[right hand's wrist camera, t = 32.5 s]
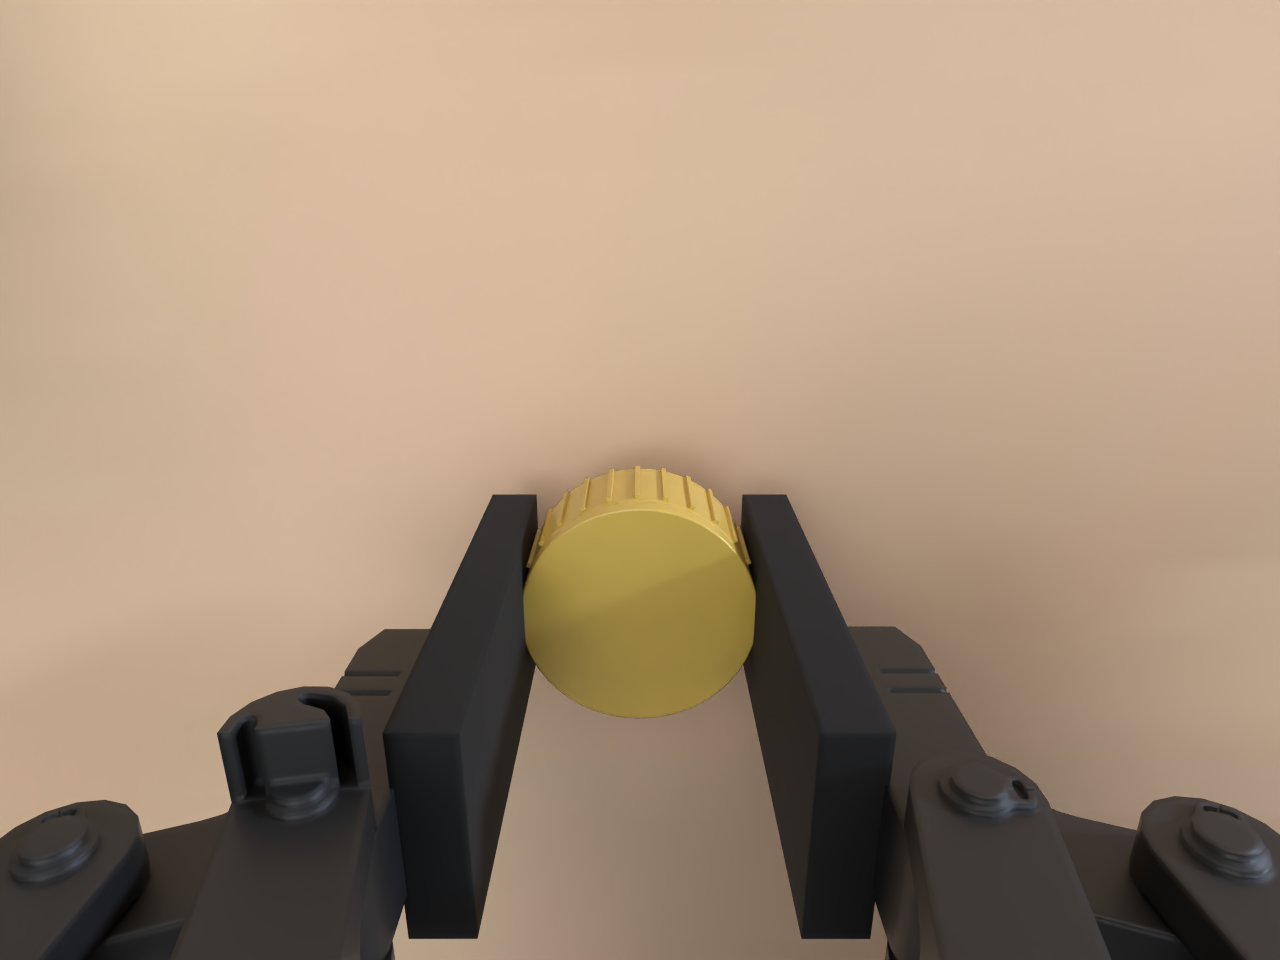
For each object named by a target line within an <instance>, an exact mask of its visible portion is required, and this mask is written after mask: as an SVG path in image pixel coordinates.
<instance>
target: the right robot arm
mask: <svg viewBox="0 0 1280 960" xmlns="http://www.w3.org/2000/svg"><path fill="white" fill-rule="evenodd" d="M537 529H538V519H537V497H536V495H493V496H492V498H491V500H490V502H489V504H488V506H487V509H486V511H485V513H484V515H483V517H482V519H481V522H480V524H479V526H478V528H477V530H476V532H475V534H474V537H473V539H472V541H471V543H470V545H469V547H468V550H467V552H466V554H465V556H464V558H463V560H462V562H461V565H460V567H459V569H458V571H457V573H456V575H455V578H454V580H453V582H452V584H451V586H450V588H449V590H448V593H447V595H446V597H445V599H444V601H443V603H442V606H441V608H440V610H439V612H438V614H437V616H436V618H435V621H434V623H433V625H432V627H431V629H384V630H383V631H382V632H380V633H379V634H378V635H376V636H375V637H374V638H372V639H371V640H370V641H368V642H367V643H366V644H364V645H363V646H362V647H360V648H359V649H358V650H357V652H356V654H355V655H354V657H353V659H352V660H351V662H350V664H349V665H348V667H347V669H346V670H345V675H344V676H342V677H341V679H340V680H339V682H338V684H337V685H336V687H335V689H334V688H331V687H299V688H294V689H289V690H284V691H279V692H275V693H273V694H270V695H268V696H266V697H263V698H261V699H258V700H256V701H253V702H251V703H249V704H248V705H247V706H245V707H244V708H242V709H241V710H239V711H238V712H236V713H235V714H233V715H232V716H230V717H229V719H228V720H227V721H226V723H225V724H224V725H223V726H222V728H221V729H220V730H219V731H218V733H217V736H218V740H219V745H220V750H221V755H222V759H223V764H224V769H225V773H226V778H227V783H228V787H229V792H230V797H231V802H232V804H231V806H230V809H229V811H228V812H227V813H225V814H222V815H219V816H216V817H212V818H209V819H206V820H202V821H198V822H194V823H190V824H185V825H181V826H176V827H172V828H168V829H163V830H159V831H154V832H150V833H146V834H143V833H142V830H141V826H140V822H139V818H138V816H137V815H136V814H135V813H134V812H133V811H132V810H131V809H130V808H129V807H128V806H127V805H126V804H121V803H117V802H112V801H107V800H99V801H88V802H77V803H74V804H71V805H67V806H63V807H61V808H57V809H54V810H51V811H48V812H45V813H43V814H41V815H39V816H37V817H35V818H33V819H31V820H29V821H27V822H25V823H23V824H21V825H19V826H17V827H15V828H14V829H12V830H11V831H10V832H8V833H7V834H6V835H4V836H3V837H2V838H0V960H395V956H394V949H393V941H392V940H393V937H394V934H395V931H396V928H397V925H398V921H399V918H400V915H401V912H402V909H403V906H404V905H405V913H406V920H407V928H408V936H409V939H477V938H478V934H479V929H480V924H481V919H482V915H483V910H484V905H485V901H486V896H487V891H488V887H489V882H490V877H491V873H492V868H493V863H494V858H495V854H496V849H497V844H498V840H499V835H500V830H501V826H502V821H503V816H504V811H505V807H506V802H507V797H508V793H509V788H510V783H511V779H512V774H513V769H514V764H515V760H516V755H517V750H518V746H519V741H520V736H521V732H522V727H523V722H524V717H525V713H526V708H527V703H528V699H529V694H530V689H531V685H532V680H533V675H534V670H535V666H536V664H535V662H534V660H533V659H532V657H531V655H530V653H529V650H528V648H527V646H526V639H525V622H524V604H523V589H524V585H525V582H526V578H527V575H528V571H529V568H527V567H526V565H527V562H528V559H529V555H530V552H531V548H532V545H533V542H534V538H535V535H536V532H537ZM741 529H742V533H743V536H744V540H745V543H746V546H747V550H748V553H749V557H750V560H751V564H749V568H750V572H751V575H752V579H753V583H754V586H755V590H756V604H755V622H754V639H753V646H752V648H751V650H750V652H749V655H748V657H747V659H746V660H745V662H744V664H743V665H744V670H745V675H746V680H747V684H748V689H749V694H750V698H751V703H752V708H753V712H754V717H755V722H756V727H757V731H758V736H759V741H760V745H761V750H762V755H763V760H764V764H765V769H766V774H767V778H768V783H769V788H770V792H771V797H772V802H773V807H774V811H775V816H776V821H777V825H778V830H779V835H780V839H781V844H782V849H783V854H784V858H785V863H786V868H787V872H788V877H789V882H790V887H791V891H792V896H793V901H794V905H795V910H796V915H797V919H798V924H799V929H800V934H801V938H802V939H870V936H871V928H872V921H873V913H874V905H875V902H876V905H877V908H878V911H879V914H880V917H881V920H882V924H883V927H884V930H885V933H886V936H887V939H888V941H887V949H886V956H885V960H1280V835H1279V834H1278V833H1277V832H1275V831H1274V830H1273V829H1271V828H1270V827H1269V826H1267V825H1266V824H1265V823H1263V822H1261V821H1259V820H1257V819H1255V818H1253V817H1251V816H1249V815H1247V814H1245V813H1243V812H1241V811H1239V810H1237V809H1235V808H1232V807H1228V806H1225V805H1222V804H1218V803H1215V802H1212V801H1208V800H1205V799H1199V798H1188V797H1177V796H1174V797H1169V798H1165V799H1160V800H1155V801H1153V802H1152V803H1151V804H1150V805H1149V806H1148V807H1147V808H1146V809H1145V810H1144V811H1143V812H1142V813H1141V817H1140V821H1139V825H1138V829H1137V831H1136V830H1132V829H1127V828H1123V827H1119V826H1114V825H1110V824H1105V823H1101V822H1096V821H1092V820H1087V819H1083V818H1079V817H1075V816H1072V815H1069V814H1065V813H1062V812H1059V811H1056V810H1053V809H1051V807H1050V805H1049V802H1048V801H1047V799H1046V798H1045V796H1044V795H1043V793H1042V792H1041V790H1040V789H1039V787H1038V786H1037V784H1036V783H1034V782H1033V781H1032V780H1030V779H1029V778H1028V777H1027V776H1025V775H1024V774H1023V773H1021V772H1020V771H1019V770H1018V769H1016V768H1014V767H1012V766H1010V765H1008V764H1006V763H1004V762H1001V761H999V760H997V759H995V758H993V757H990V756H987V755H986V753H985V752H984V750H983V748H982V747H981V745H980V743H979V742H978V740H977V738H976V737H975V735H974V733H973V732H972V730H971V728H970V727H969V725H968V723H967V722H966V720H965V718H964V717H963V715H962V714H961V712H960V710H959V709H958V707H957V705H956V704H955V702H954V700H953V699H952V697H951V695H950V694H949V693H946V687H945V685H944V684H943V682H942V680H941V679H940V677H939V675H938V674H935V669H934V667H933V665H932V664H931V662H930V660H929V659H928V657H927V655H926V654H925V652H924V650H923V649H922V647H921V646H920V645H919V644H917V643H916V642H915V641H913V640H912V639H911V638H909V637H908V636H906V635H905V634H904V633H902V632H901V631H900V630H898V629H897V628H896V627H847V625H846V623H845V621H844V619H843V616H842V614H841V612H840V610H839V608H838V606H837V603H836V601H835V599H834V597H833V595H832V593H831V591H830V588H829V586H828V584H827V582H826V580H825V578H824V575H823V573H822V571H821V569H820V567H819V565H818V563H817V560H816V558H815V556H814V554H813V552H812V550H811V547H810V545H809V543H808V541H807V539H806V537H805V534H804V532H803V530H802V528H801V526H800V524H799V522H798V519H797V517H796V515H795V513H794V511H793V509H792V506H791V504H790V502H789V500H788V498H787V496H786V495H743V497H742V519H741Z"/></svg>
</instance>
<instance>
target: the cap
mask: <svg viewBox="0 0 1280 960" xmlns="http://www.w3.org/2000/svg"><path fill="white" fill-rule="evenodd" d="M749 564H751V560H750V557H749V553H748V550H747V546H746V543H745V540H744V536H743V533H742V529H741V527H740V526H737V527H736V525H735V523H734V521H733V519H732V516H731V513H730V509H729V507H728V506H727V505H726V506H725V507H724V506H723V505H722V504H721V503H720V502H719V501H718V500H717V499H716V498H715V497H714V496H713V492H712V490H711V489H709V488H708V489H707V490H705V489H704V488H702V487H701V486H699V485H698V484H696V483H695V482H692V481H691V477H689V476H687V475H686V477H685V478H684V477H682V476H679V475H676V474H673V473H670V472H666V469H665V468H661V471H660V470H655V469H641V468H640V466H635V469H625V470H619V471H614V469H610V470H609V473H606V474H603V475H600V476H597V477H595V478H593V479H591V480H590V478H589V477H588V478H586V479H585V480H584V483H583V484H581V485H580V486H578V487H577V488H575V489H573V490H572V491H571V492H570V493H569V492H568V491H566V492H565V493H564V495H563V499H562V500H561V501H560V502H559V503H558V504H557V505H556V506H555V507H554V509H553V510H552V509H551V508H550V509H549V510H548V511H547V515H546V518H545V522H544V525H543V527H542V529H541V530H540V529H537V532H536V535H535V538H534V542H533V545H532V548H531V552H530V555H529V559H528V562H527V565H526V567H527V568H529V571H528V575H527V578H526V582H525V585H524V589H523V604H524V622H525V639H526V646H527V648H528V650H529V653H530V655H531V657H532V659H533V660H534V662H535V664H536V665H537V667H538V669H539V670H540V671H541V672H542V674H543V675H544V676H545V677H546V679H547V680H548V681H549V682H550V683H551V684H552V685H553V686H555V687H556V688H557V689H558V690H559V691H560V692H562V693H563V694H564V695H566V696H567V697H568V698H570V699H572V700H574V701H575V702H577V703H579V704H581V705H583V706H585V707H587V708H590V709H592V710H595V711H598V712H601V713H604V714H608V715H613V716H618V717H625V718H654V717H660V716H667V715H671V714H674V713H678V712H682V711H684V710H687V709H689V708H692V707H694V706H696V705H698V704H700V703H702V702H704V701H705V700H707V699H709V698H710V697H712V696H713V695H714V694H716V693H717V692H719V691H720V690H721V689H722V688H723V687H724V686H725V685H727V684H728V683H729V682H730V681H731V680H732V678H733V677H734V676H735V675H736V674H737V672H738V671H739V670H740V668H741V667H742V665H743V664H744V662H745V660H746V659H747V657H748V655H749V652H750V650H751V648H752V646H753V639H754V622H755V604H756V590H755V586H754V583H753V579H752V575H751V572H750V568H749Z"/></svg>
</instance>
